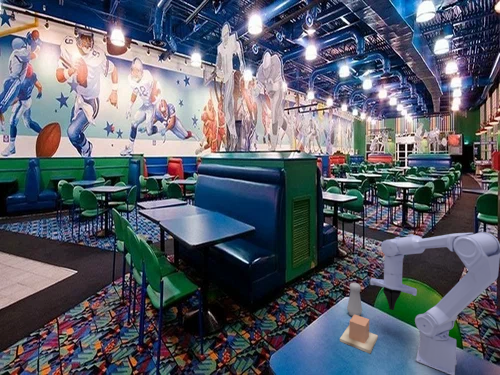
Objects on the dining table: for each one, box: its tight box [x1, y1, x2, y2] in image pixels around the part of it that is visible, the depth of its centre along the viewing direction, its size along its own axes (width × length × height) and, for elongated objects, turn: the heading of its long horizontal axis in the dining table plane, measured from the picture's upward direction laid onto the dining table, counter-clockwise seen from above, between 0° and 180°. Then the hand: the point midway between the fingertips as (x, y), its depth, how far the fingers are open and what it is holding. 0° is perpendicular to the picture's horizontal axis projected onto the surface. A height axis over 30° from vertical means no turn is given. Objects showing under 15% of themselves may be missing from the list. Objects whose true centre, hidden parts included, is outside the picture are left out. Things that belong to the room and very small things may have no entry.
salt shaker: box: [346, 282, 363, 317], centre depth 106 cm, size 6×6×13 cm
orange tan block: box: [348, 314, 370, 344], centre depth 91 cm, size 5×5×6 cm
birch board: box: [339, 325, 379, 355], centre depth 91 cm, size 10×10×1 cm
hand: (391, 308), depth 94 cm, fingers closed
